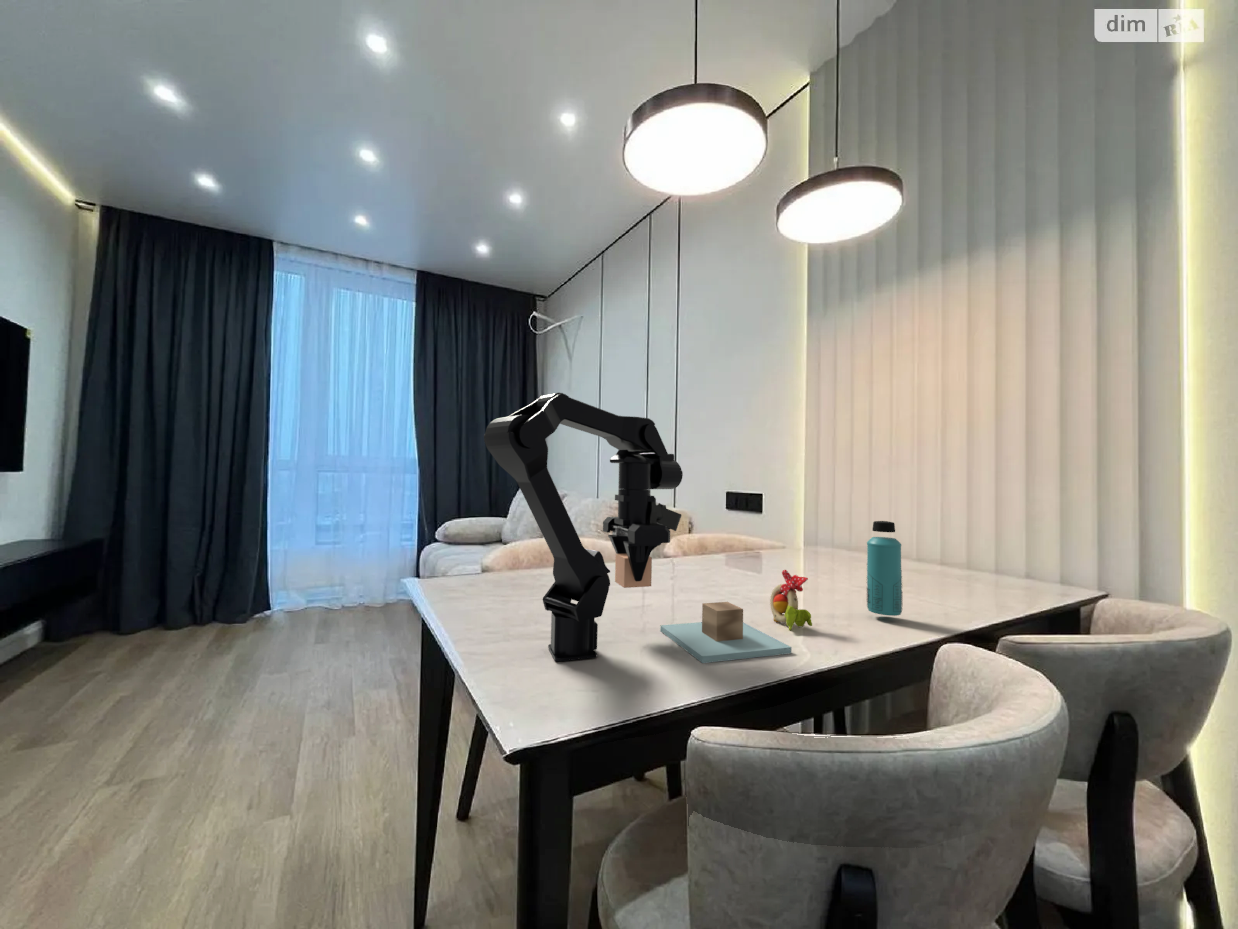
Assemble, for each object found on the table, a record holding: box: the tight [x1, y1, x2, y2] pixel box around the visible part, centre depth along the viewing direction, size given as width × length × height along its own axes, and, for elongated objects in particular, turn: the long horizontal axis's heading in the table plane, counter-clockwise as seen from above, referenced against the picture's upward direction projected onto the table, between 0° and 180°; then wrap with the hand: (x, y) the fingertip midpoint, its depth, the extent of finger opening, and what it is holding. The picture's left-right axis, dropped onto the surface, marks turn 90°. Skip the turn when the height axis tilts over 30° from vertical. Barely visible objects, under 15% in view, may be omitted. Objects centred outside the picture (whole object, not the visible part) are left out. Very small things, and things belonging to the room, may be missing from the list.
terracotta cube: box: [614, 553, 653, 589], centre depth 86 cm, size 5×5×5 cm
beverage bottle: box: [865, 520, 904, 617], centre depth 100 cm, size 6×7×20 cm
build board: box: [659, 621, 792, 664], centre depth 83 cm, size 16×16×1 cm
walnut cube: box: [701, 601, 744, 642], centre depth 83 cm, size 5×5×5 cm
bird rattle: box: [769, 569, 813, 631], centre depth 94 cm, size 6×11×9 cm
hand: (632, 578), depth 86 cm, fingers closed on terracotta cube, 5 cm apart
